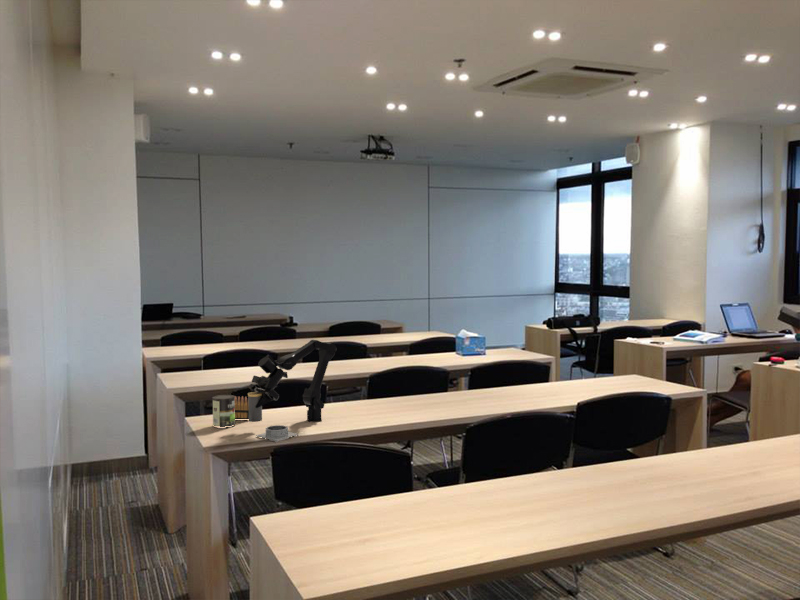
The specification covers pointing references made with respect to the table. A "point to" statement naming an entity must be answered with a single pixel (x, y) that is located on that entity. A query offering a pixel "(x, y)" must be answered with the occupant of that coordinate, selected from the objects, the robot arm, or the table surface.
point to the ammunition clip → (241, 408)
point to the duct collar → (277, 433)
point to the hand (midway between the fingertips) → (252, 406)
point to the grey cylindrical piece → (254, 412)
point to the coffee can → (223, 410)
